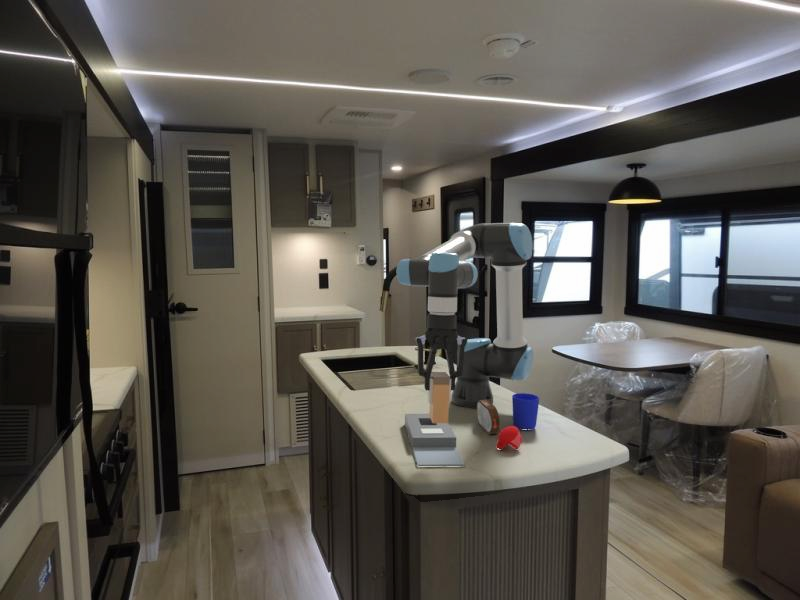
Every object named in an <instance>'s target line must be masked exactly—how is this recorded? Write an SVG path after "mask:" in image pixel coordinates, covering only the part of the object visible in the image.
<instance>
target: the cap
mask: <svg viewBox="0 0 800 600" xmlns="http://www.w3.org/2000/svg"><path fill="white" fill-rule="evenodd" d="M522 442H523V436H522V433H520V429H518V428H516V427H515V426H514V425H509V426H506V427H504V428H503V429H502V430H499V433H498V435H497V443H496V447H497V448H499V449H501V450H500V451H502V450H503V449H504V448H505V447H507V446H508V445H509V446H510V447H512V448H513V449H514V450H515V449H518V448H519V449H520V446H521V444H522ZM507 444H508V445H507ZM497 448H496V449H497ZM519 449H518V450H519Z"/></svg>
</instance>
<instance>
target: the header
mask: <svg viewBox="0 0 800 600" xmlns="http://www.w3.org/2000/svg"><path fill="white" fill-rule="evenodd" d="M404 427H405V430H406V433H407V437H408V439H409V443H411V444H410V447H411V450H412V451H413V447H456V448H457V436H456V434H455V432H454V431H453V429H452V427H451V425H450V424H449V422H448V423H432V421H431V419H430V416H429V413H404Z"/></svg>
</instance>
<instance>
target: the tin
mask: <svg viewBox="0 0 800 600" xmlns="http://www.w3.org/2000/svg"><path fill="white" fill-rule="evenodd" d="M476 417H477V421H478V424H479V425H480V427H481V428H482V429H483V430H484V431H485V432H486V433H487V434H488V435H497V434H498V435H499V431H501V429H500V428H501V421H500V415H499V412H498V409H497V407H496V406H495V405H494V403H493V404H491V403H490V402H489V401H488V400H487V399H486V400H479V401H478V402H477V408H476Z"/></svg>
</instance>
